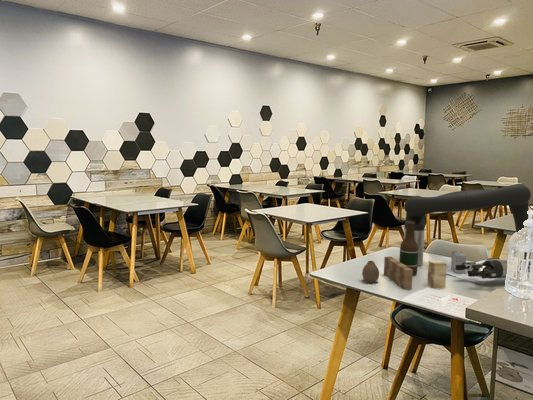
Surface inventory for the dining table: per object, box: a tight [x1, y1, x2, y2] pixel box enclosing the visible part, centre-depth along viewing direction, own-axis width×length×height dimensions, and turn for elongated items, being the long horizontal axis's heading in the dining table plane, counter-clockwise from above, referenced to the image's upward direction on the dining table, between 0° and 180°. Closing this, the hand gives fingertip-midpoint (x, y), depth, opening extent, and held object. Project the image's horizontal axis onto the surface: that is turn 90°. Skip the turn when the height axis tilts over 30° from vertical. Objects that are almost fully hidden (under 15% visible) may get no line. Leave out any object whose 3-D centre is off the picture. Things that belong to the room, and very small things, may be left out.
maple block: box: [426, 260, 448, 289], centre depth 167 cm, size 5×5×10 cm
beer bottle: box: [398, 221, 418, 277], centre depth 182 cm, size 8×8×24 cm
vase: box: [361, 260, 380, 284], centre depth 172 cm, size 7×7×9 cm
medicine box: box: [450, 250, 467, 274], centre depth 187 cm, size 8×4×9 cm, turn 168°
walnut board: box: [383, 256, 413, 290], centre depth 173 cm, size 20×3×8 cm, turn 8°
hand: (462, 270), depth 168 cm, fingers open, 8 cm apart
